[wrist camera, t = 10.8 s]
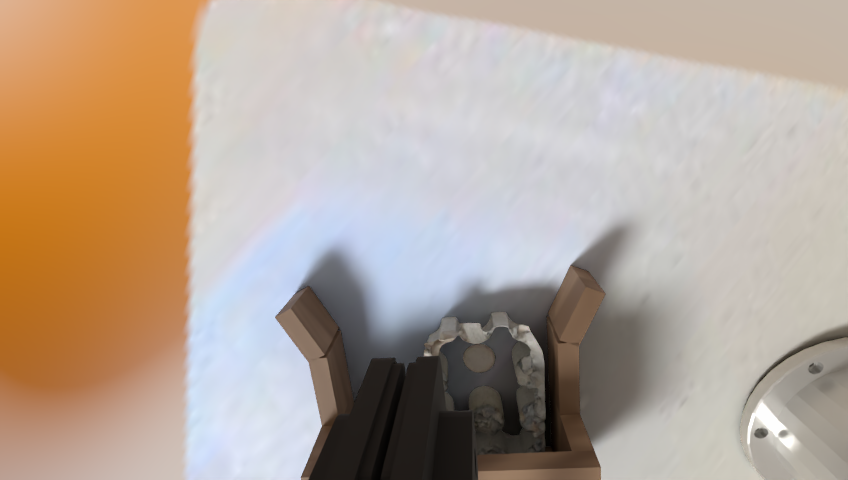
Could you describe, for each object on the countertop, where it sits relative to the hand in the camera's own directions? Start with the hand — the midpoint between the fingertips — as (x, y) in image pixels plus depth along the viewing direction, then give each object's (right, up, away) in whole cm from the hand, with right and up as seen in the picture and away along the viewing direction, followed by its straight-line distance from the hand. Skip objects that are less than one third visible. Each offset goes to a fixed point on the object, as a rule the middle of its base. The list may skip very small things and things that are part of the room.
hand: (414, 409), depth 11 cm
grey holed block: (+5, -6, +21) cm, 22 cm away
